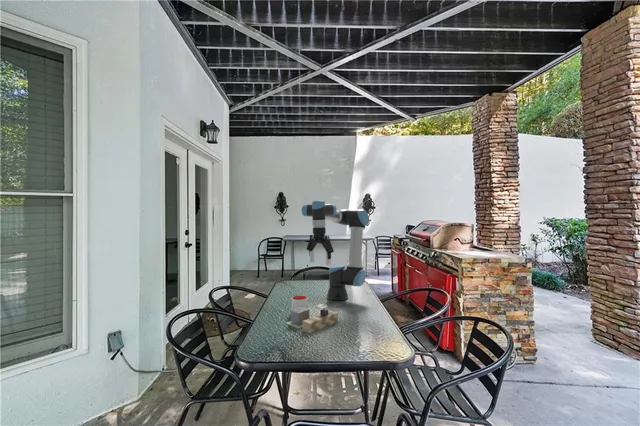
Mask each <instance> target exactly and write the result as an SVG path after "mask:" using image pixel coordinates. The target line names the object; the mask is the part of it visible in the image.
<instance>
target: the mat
mask: <svg viewBox="0 0 640 426" xmlns="http://www.w3.org/2000/svg"><path fill="white" fill-rule="evenodd" d="M285 324H286V325H288V326H291V327H294V328H296V329H298V330H299V329H301V328H302V329H303V325H300V326H298V325H295V324H292V323H291V320H290V321H287V322H285Z"/></svg>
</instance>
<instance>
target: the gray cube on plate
mask: <svg viewBox="0 0 640 426" xmlns="http://www.w3.org/2000/svg"><path fill="white" fill-rule="evenodd" d="M309 318H310V309H309V308H308V309H306V308H303V307H299V308H296V309H293V310H292V309H290V321H291V323H292V324H295V325H298V326H300V325H303V321H304V320H307V319H309Z"/></svg>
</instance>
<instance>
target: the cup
mask: <svg viewBox="0 0 640 426" xmlns="http://www.w3.org/2000/svg"><path fill="white" fill-rule="evenodd" d="M290 301H291V310H293V309H296V308H299V307H303V308H306V309H309V304H308V303H309V299H308V297H307V296H306V295H294V296H292V297H291V300H290Z"/></svg>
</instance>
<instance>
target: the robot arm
mask: <svg viewBox="0 0 640 426" xmlns="http://www.w3.org/2000/svg"><path fill="white" fill-rule="evenodd" d="M301 215H302V216H303V217H311V218H312V219H311V220H312V227H313V228H312V234H310V235H309V240H308V243H307V246H306V251H308V254H309V263H314V262H315V250H314V249H315V247H316V245H317V244H321V246H322V247H323V248H324V250H325V252H326V254H325V262H326V263H325V264H326V266H330V265H331V264H332V263H331V259H332V253H335V250H334V247H333V245H332V243H331V240H330V236H329V235H326V232H327V231H326V220H327V221H331V222H333V223H334V224H339V225H343V226H348V229H349V230H350V236H349V251H348V252H349V255H348V264H347V265H346V266H345V265H342V264H341V265H335V266H331V267H329V269H328V275H329V276H328V278H329V279H328V285H329V287H328V291H327V293H326V299H328V300H329V301H335V302H340V301H346V300H348V298H349V295H348V291H347V288H346V286H352V287H357V288H358V287H362V286H363V285H364V283H365V282H366V277H367V274H366V273H367V272H366V270H365V269H364V267H363V265H362V256H363V255H362V253H363V251H362V250H363V237H364V236H363V234H364V233H363V232H364V230H365V229H366V227H367V226H368V225H369V223H370V219H369V218H370V217H369V214H368V212H367V211H366V209H361V208H356V209H337V206H336V205H335V204H333V203H326V201H324V200H313V201H312V202H311V204H303V205H302V207H301Z"/></svg>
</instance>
